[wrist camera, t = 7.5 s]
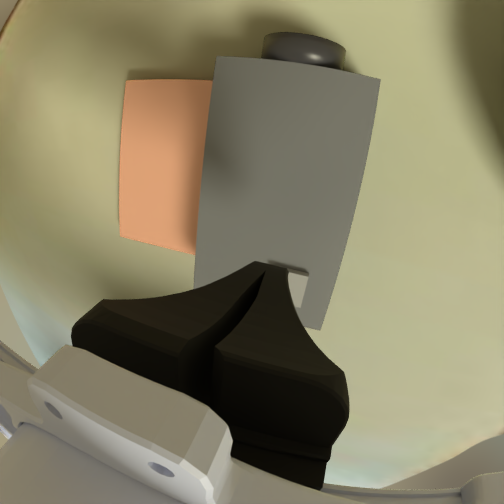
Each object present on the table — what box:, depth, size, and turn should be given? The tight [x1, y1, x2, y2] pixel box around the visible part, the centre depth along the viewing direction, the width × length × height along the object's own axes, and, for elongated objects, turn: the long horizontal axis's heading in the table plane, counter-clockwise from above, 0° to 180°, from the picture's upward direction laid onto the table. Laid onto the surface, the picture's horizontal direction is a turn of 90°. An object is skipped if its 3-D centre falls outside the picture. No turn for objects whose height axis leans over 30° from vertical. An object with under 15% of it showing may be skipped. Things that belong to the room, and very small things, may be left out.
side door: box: [119, 79, 213, 255], centre depth 20 cm, size 12×1×7 cm
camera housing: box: [194, 32, 380, 330], centre depth 17 cm, size 16×8×5 cm, turn 172°
